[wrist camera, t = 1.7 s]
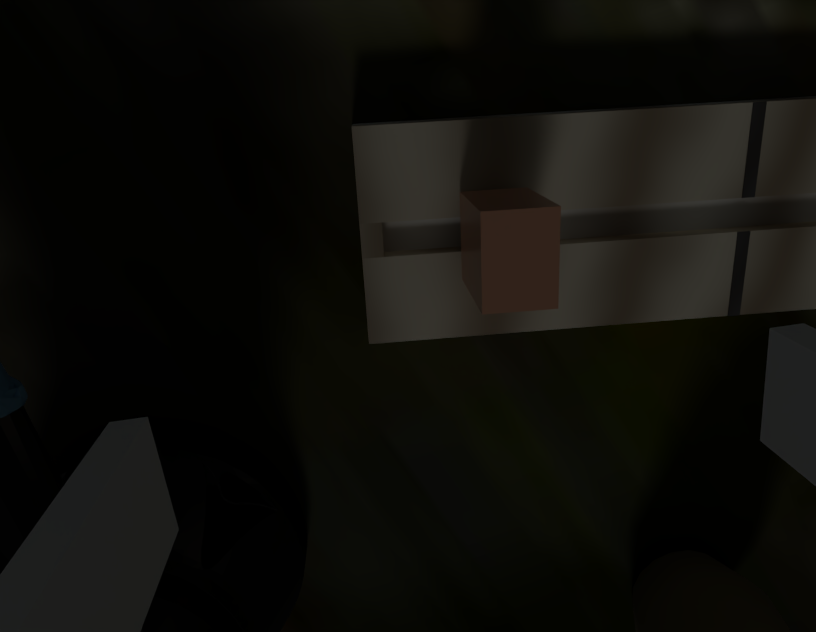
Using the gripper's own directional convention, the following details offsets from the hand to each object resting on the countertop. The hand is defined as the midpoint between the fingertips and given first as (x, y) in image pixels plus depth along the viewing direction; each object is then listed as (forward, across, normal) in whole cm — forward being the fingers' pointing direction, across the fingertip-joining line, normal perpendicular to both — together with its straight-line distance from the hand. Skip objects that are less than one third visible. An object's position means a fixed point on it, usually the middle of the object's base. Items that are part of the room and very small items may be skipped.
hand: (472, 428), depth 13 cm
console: (+19, +10, 0) cm, 21 cm away
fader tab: (+17, +4, 0) cm, 18 cm away
